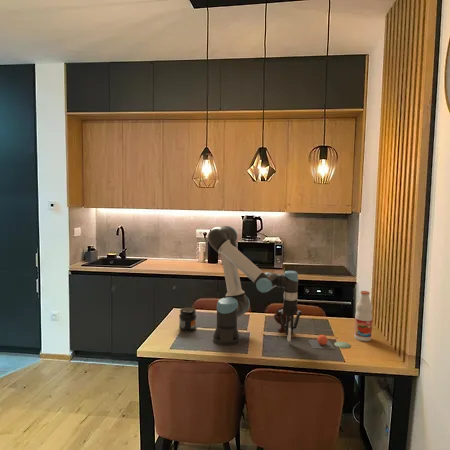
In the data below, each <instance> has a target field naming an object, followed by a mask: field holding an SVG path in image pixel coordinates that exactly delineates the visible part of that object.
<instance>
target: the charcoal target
mask: <svg viewBox="0 0 450 450" xmlns="http://www.w3.org/2000/svg"><path fill="white" fill-rule="evenodd" d="M307 341H308V343H309V345H310V347H311V348H312V349H315V350H316V349H318V350H319V349H320V350H335V349H336V348H335V347H334V346H333V343H331V341H330V340H329V339H328V342H327V344H325V345H320V344H319V343H318V340H317V339H308V340H307Z"/></svg>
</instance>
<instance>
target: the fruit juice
mask: <svg viewBox="0 0 450 450" xmlns="http://www.w3.org/2000/svg"><path fill="white" fill-rule="evenodd" d="M370 293H371V292H370V291H368V290H361V291H360V297H359V298H358V299H359V300H358V301H357V303H356V304H355V308H356V312H355V318H354V333H353V334H354V338H355V340H358V341H360V342H370V341H371V340H372V333H373V331H372V329H373V313H372V311H373V310H374V309H373V308H374V307H373V304H372V302H371V300H370V299H371V298H370Z"/></svg>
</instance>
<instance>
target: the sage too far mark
mask: <svg viewBox="0 0 450 450" xmlns="http://www.w3.org/2000/svg"><path fill="white" fill-rule="evenodd" d="M333 345H334V346H335V347H337V348H340V349H349V348H351V347H352V345H351V344H350V343H348V342H345V341H336V342H334V343H333Z"/></svg>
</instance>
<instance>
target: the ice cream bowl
mask: <svg viewBox="0 0 450 450" xmlns="http://www.w3.org/2000/svg"><path fill="white" fill-rule="evenodd" d="M282 308H283V306H280V307H277V308H276V312H275V313H274V314H273V318H274V321H275V322H276V323H277V324H278V325H280V328H278V329H277V332H279V333H283V332H284V333H286V329H285V328H283V326H282V321H281V316H280V314H279V312H278V311H279V310H282ZM282 315H283V319H284V323H285V325H286V314H285V313H284V311H283V314H282ZM290 322H291V316H289V323H290Z"/></svg>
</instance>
